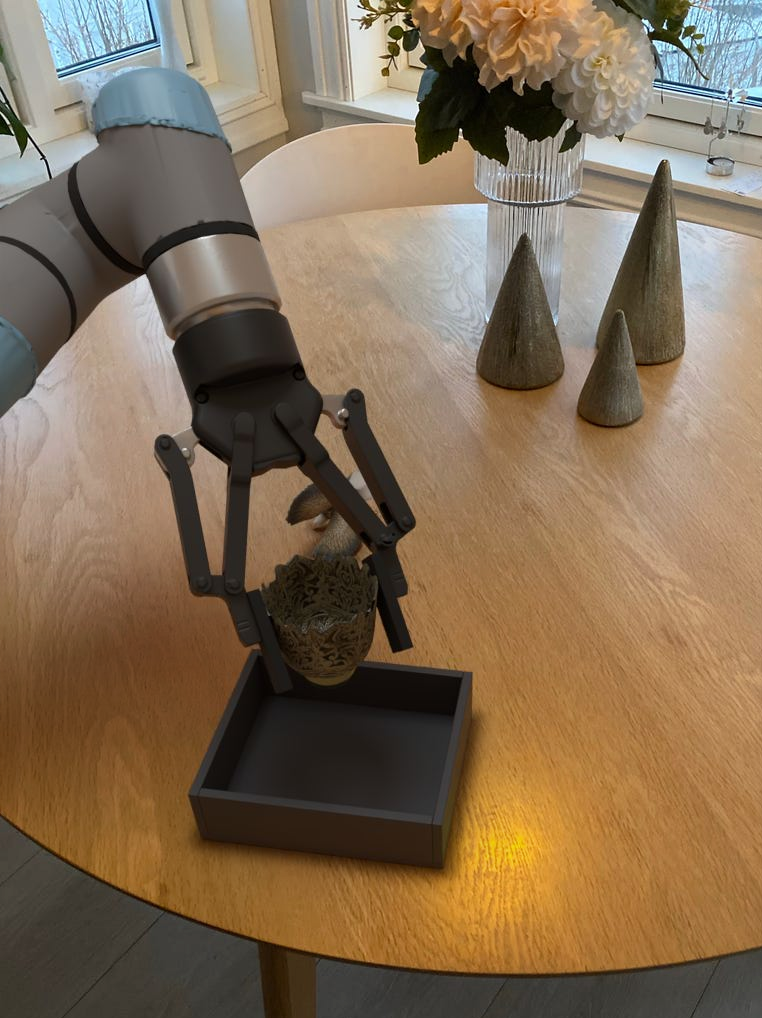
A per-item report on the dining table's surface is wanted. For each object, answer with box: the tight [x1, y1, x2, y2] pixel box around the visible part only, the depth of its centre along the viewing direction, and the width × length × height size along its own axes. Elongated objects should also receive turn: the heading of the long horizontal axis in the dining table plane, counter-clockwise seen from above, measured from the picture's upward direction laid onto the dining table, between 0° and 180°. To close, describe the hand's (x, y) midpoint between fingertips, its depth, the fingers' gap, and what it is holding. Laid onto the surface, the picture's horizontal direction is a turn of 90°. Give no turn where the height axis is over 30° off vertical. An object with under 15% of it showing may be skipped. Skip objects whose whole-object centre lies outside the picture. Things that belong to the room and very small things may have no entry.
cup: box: [260, 551, 378, 689], centre depth 65 cm, size 8×7×8 cm
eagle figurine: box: [285, 469, 373, 562], centre depth 94 cm, size 8×7×9 cm
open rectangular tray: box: [187, 648, 474, 870], centre depth 73 cm, size 17×14×5 cm
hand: (344, 669), depth 63 cm, fingers closed on cup, 7 cm apart
